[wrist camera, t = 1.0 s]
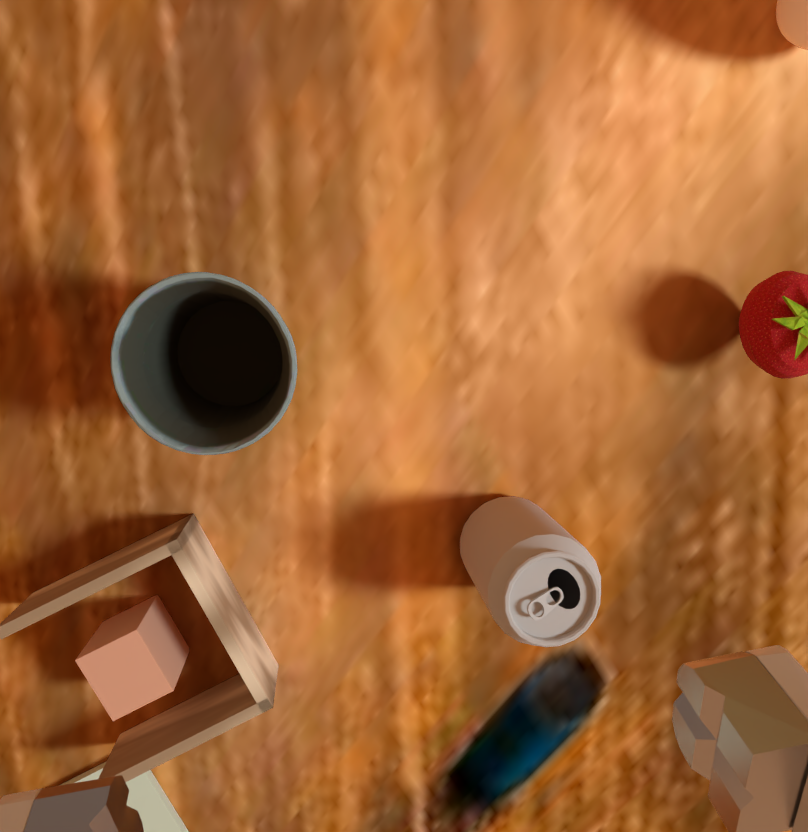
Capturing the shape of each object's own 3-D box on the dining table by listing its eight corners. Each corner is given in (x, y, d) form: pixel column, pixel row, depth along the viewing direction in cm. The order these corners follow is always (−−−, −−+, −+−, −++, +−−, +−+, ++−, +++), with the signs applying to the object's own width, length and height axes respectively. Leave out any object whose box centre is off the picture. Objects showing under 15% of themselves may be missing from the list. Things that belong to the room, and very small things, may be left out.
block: (190, 649, 53) (173, 690, 48) (136, 676, 53) (113, 721, 47) (157, 594, 53) (136, 629, 47) (102, 621, 52) (74, 660, 46)
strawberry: (709, 377, 55) (793, 391, 45) (704, 279, 54) (789, 272, 44) (780, 367, 55) (878, 378, 46) (776, 270, 54) (876, 260, 44)
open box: (278, 664, 54) (272, 707, 48) (125, 742, 54) (100, 794, 48) (193, 513, 52) (176, 539, 46) (32, 593, 51) (-6, 629, 46)
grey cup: (177, 265, 49) (131, 250, 38) (318, 303, 51) (316, 300, 39) (146, 404, 50) (92, 432, 39) (285, 437, 52) (273, 473, 40)
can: (567, 554, 56) (632, 619, 44) (485, 602, 56) (529, 680, 44) (523, 475, 54) (579, 520, 43) (440, 524, 54) (472, 582, 42)
